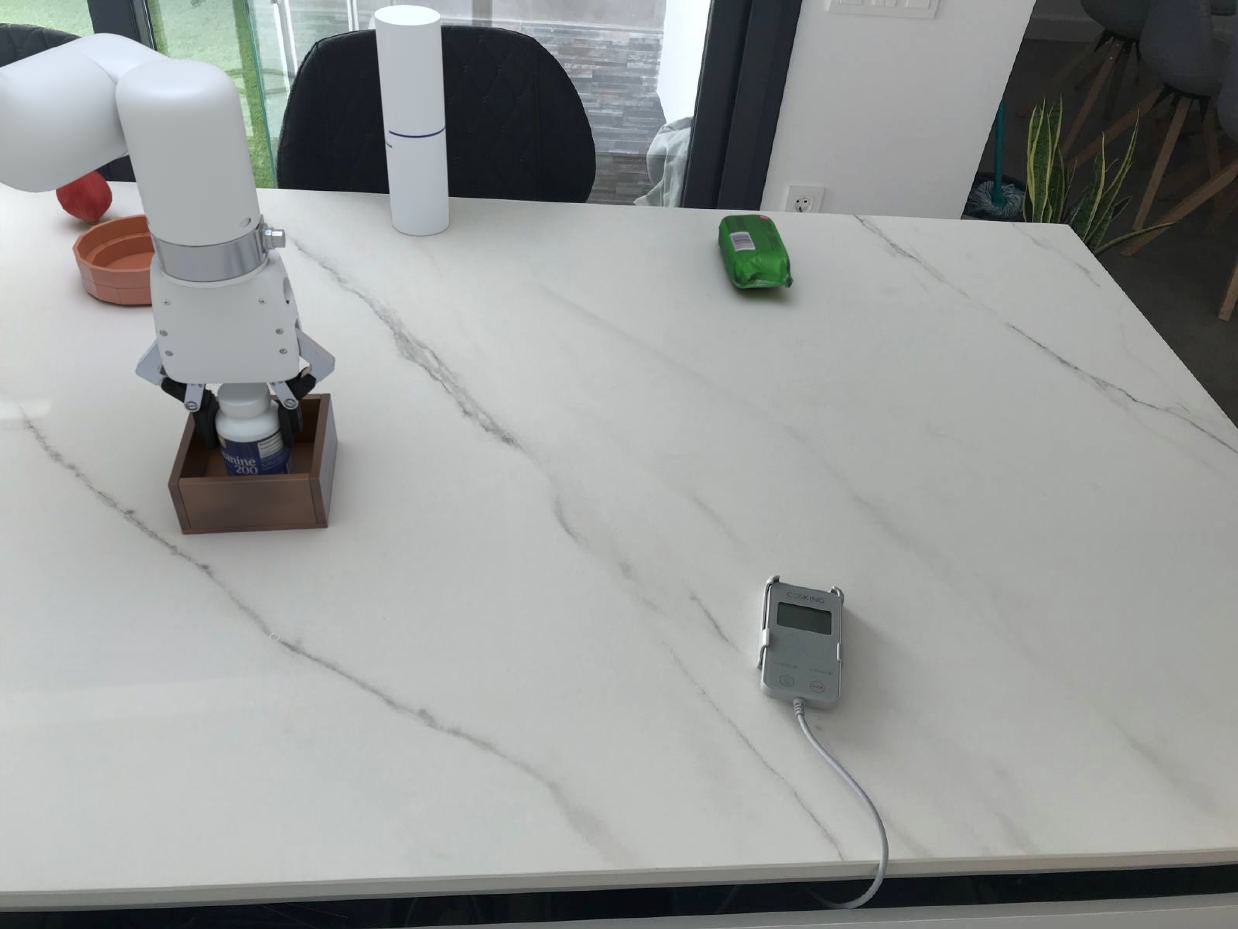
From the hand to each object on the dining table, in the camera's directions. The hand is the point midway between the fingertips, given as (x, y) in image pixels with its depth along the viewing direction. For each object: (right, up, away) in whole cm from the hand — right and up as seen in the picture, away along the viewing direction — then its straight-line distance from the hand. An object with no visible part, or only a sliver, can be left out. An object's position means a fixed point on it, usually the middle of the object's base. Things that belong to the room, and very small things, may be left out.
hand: (253, 436), depth 82 cm
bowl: (-22, +19, +28) cm, 40 cm away
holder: (0, -4, +3) cm, 5 cm away
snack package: (+47, +21, +38) cm, 64 cm away
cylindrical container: (+6, +28, +42) cm, 51 cm away
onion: (-33, +27, +36) cm, 56 cm away
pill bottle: (0, -4, +3) cm, 5 cm away
